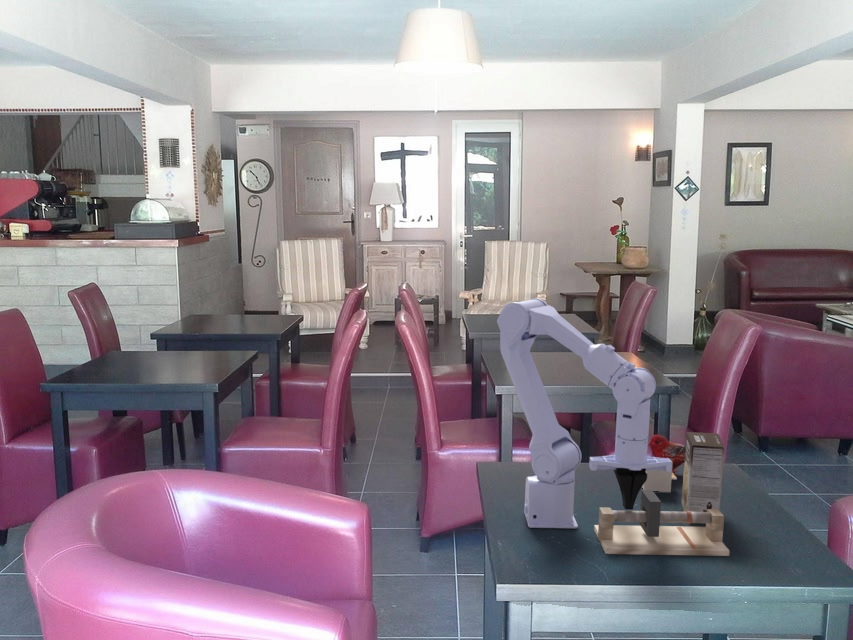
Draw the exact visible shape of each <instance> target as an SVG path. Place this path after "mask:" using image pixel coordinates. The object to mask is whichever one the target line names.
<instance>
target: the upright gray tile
mask: <svg viewBox="0 0 853 640" xmlns="http://www.w3.org/2000/svg"><path fill="white" fill-rule="evenodd" d="M640 498H641V499H640V511H647V522H639V526H641V527H642V529H643V530H644V532H645V533H646V535H647V536H648V537H659V526H661V525H660V523H661V522H660V511H662V509H661V508H662V501H661V499H659V497H658V496H657V495H656V492H653V491H652V490H643V489H641V496H640Z"/></svg>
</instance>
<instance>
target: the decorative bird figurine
mask: <svg viewBox="0 0 853 640" xmlns="http://www.w3.org/2000/svg"><path fill="white" fill-rule="evenodd" d="M648 446H649V447H650V450H651V453H652V457H657V458H669V459H670V460H671V461H672V462H673V464H672V473H673V474H676V473H678V472H679V471H678V470H676V469H678V468H679V467H680V466H681V465H683V464H684V459H685V445H684V444H680V443H676V442H671V441H669V440H668V439H667V438H666V437H664V436H663V435H660V434H654V435H652V437H651V438H650V441H648Z"/></svg>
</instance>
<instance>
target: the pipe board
mask: <svg viewBox="0 0 853 640" xmlns="http://www.w3.org/2000/svg"><path fill="white" fill-rule="evenodd" d="M598 511H599V512H598V524H594V525H593V531H594V533H595V535H596V537H597V539H598V541H599V543H600V545H601V547H602V549H603V551H604V553H605V554H607V555H650V556H651V555H652V556H653V555H657V556H705V557H706V556H707V557H708V556H712V557H713V556H715V557H718V556H719V557H721V556H722V557H723V556H724V557H730V549H729V548H728V547H727V546H726V545H725V543H724V542H723V537H724V536H723V534H724V523H725V515H724V514H723V513H722V512H721V510H720V511H719V510H718V509H707V512H691V511H685V512H684V511H672V510H670V511H666V510H663V511H662V510H661V511H660V523H666V524H667V523H669V524H670V523H673V524H677V523H678V524H681V523H682V524H683V523H684V524H687V525H688V524H690V525H691V524H702V523H706V524H705V526H686V525H685V526H682V525H681V526H680V525H679V526H677V525H676V526H675V525H673V526H671V525H660V526H659V537H648V536H647V535H646V533H645V532H644V530H643V529H642V527H641V526H640V525H626V524H625V525H619V524H618V525H617V524H616V525H615V524H614V522H619V523H621V522H622V523H640V522H647V511H641V510H618V509H617V510H614V509H612V507H605V506H604V507H599V509H598Z"/></svg>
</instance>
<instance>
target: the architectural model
mask: <svg viewBox="0 0 853 640" xmlns="http://www.w3.org/2000/svg"><path fill="white" fill-rule="evenodd" d="M672 464H673V462H672ZM646 473H647V480H646V482H645V483H644V484H643V486H642V487H641V489H642V488H643V489H642V490H652V491H659V492H658V493H671V490H672V480H677V479H678V478H677V476H676V475H675V473H672V471H671V472H666V471H665V470H646Z"/></svg>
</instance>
